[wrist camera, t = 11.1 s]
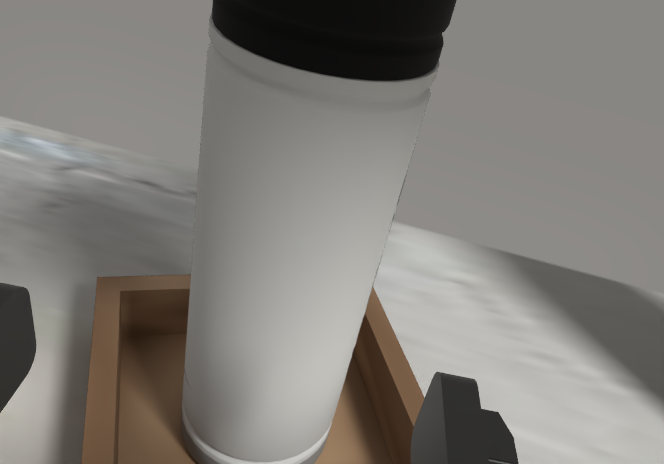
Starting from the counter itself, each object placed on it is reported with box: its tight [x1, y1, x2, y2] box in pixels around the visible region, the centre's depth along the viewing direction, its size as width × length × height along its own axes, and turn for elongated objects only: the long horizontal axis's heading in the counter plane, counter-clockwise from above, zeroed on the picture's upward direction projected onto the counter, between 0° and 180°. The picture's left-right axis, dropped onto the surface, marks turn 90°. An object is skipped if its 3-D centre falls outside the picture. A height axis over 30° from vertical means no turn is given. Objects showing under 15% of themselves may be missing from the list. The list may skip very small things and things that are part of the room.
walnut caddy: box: [81, 275, 425, 464], centre depth 25 cm, size 13×13×4 cm
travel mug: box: [181, 0, 456, 464], centre depth 20 cm, size 6×7×20 cm
